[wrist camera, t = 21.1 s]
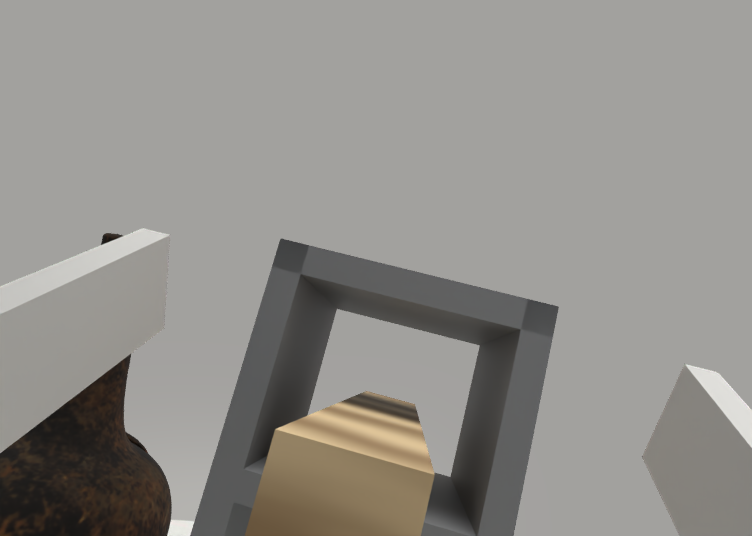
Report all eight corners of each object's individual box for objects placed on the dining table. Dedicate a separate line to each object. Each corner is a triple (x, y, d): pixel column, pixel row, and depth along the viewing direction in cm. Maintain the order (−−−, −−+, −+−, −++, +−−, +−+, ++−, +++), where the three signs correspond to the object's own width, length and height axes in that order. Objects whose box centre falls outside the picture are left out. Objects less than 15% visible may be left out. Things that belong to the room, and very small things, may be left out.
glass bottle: (185, 605, 44) (281, 286, 49) (-19, 731, 27) (158, 225, 32) (28, 532, 49) (129, 251, 54) (-223, 599, 32) (-44, 183, 37)
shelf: (418, 1014, 20) (558, 306, 25) (84, 882, 21) (280, 238, 26) (413, 753, 34) (504, 330, 39) (209, 684, 35) (323, 284, 40)
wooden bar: (392, 657, 12) (434, 474, 12) (225, 603, 12) (275, 429, 13) (402, 455, 41) (414, 404, 42) (353, 441, 41) (366, 391, 42)
